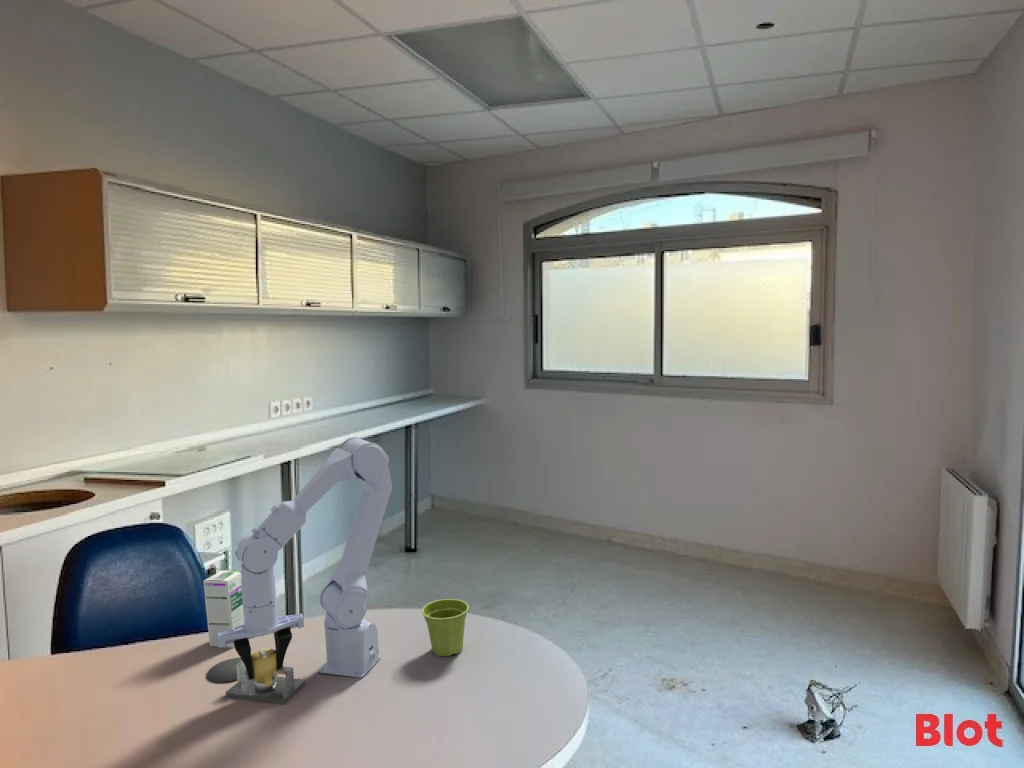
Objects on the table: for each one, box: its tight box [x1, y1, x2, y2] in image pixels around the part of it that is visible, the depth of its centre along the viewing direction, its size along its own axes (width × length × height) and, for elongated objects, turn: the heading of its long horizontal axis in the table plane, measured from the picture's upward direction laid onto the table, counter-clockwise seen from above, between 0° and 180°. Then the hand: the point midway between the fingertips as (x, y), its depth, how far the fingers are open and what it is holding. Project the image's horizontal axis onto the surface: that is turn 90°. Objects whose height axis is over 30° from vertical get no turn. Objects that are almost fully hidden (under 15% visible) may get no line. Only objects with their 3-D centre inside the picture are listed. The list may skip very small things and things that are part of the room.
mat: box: [206, 657, 247, 684], centre depth 133 cm, size 9×9×1 cm
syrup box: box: [202, 569, 244, 649], centre depth 144 cm, size 6×6×14 cm
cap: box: [251, 648, 279, 686], centre depth 124 cm, size 8×4×4 cm, turn 30°
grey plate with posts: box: [225, 661, 307, 705], centre depth 125 cm, size 12×7×5 cm, turn 74°
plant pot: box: [421, 598, 470, 657], centre depth 137 cm, size 9×9×9 cm
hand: (265, 673), depth 125 cm, fingers closed on cap, 4 cm apart
